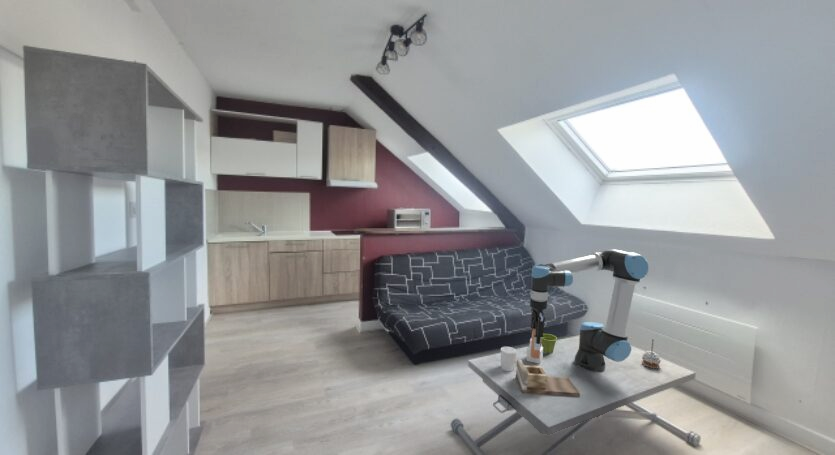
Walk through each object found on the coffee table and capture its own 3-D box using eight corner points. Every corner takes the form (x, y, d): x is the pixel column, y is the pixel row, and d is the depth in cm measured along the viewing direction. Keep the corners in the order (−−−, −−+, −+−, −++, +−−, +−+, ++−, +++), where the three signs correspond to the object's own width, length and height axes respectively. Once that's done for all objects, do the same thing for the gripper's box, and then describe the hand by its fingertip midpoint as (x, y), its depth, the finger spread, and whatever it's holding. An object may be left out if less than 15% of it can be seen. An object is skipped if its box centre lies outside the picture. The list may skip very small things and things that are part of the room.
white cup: (515, 372, 175) (517, 354, 174) (500, 370, 176) (501, 352, 175) (514, 365, 182) (515, 347, 181) (499, 363, 184) (500, 345, 183)
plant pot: (554, 356, 194) (555, 341, 193) (537, 352, 199) (538, 337, 198) (557, 350, 202) (558, 336, 201) (541, 346, 207) (542, 332, 206)
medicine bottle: (542, 359, 190) (543, 338, 189) (539, 364, 184) (540, 343, 183) (529, 355, 194) (530, 335, 193) (526, 360, 188) (527, 339, 187)
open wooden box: (540, 378, 167) (541, 366, 166) (546, 388, 158) (546, 375, 157) (521, 376, 167) (522, 365, 167) (526, 387, 158) (527, 374, 158)
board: (568, 380, 168) (570, 362, 167) (579, 396, 155) (581, 376, 154) (515, 377, 170) (516, 359, 169) (521, 392, 157) (523, 373, 156)
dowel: (529, 354, 163) (531, 328, 162) (537, 354, 163) (539, 328, 162) (532, 358, 159) (534, 331, 158) (540, 358, 159) (542, 332, 158)
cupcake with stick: (662, 367, 185) (664, 340, 183) (653, 370, 181) (656, 343, 180) (647, 361, 192) (649, 335, 190) (639, 363, 188) (641, 337, 187)
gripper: (526, 293, 167) (523, 339, 170) (535, 304, 151) (532, 355, 153) (541, 294, 167) (538, 340, 169) (553, 305, 150) (549, 356, 152)
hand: (535, 347), depth 161 cm, fingers closed on dowel, 4 cm apart
